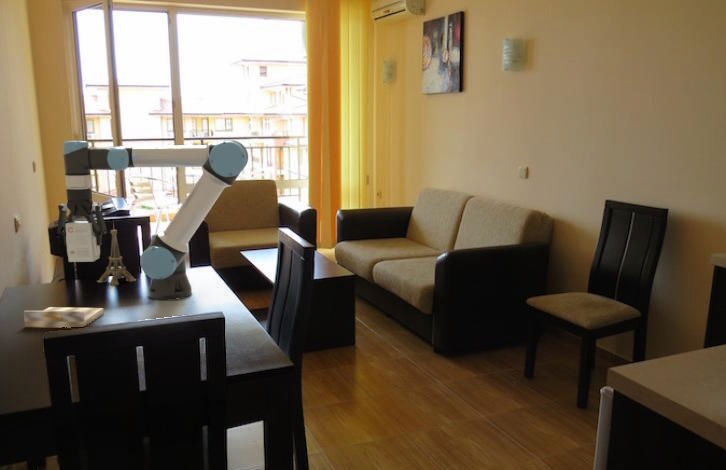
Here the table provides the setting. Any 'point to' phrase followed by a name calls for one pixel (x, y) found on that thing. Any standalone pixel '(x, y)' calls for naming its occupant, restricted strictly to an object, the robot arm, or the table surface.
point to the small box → (80, 242)
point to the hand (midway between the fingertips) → (84, 254)
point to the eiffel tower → (115, 264)
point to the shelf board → (62, 317)
